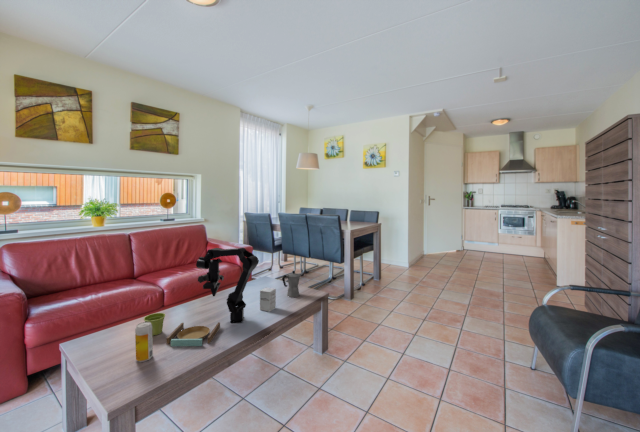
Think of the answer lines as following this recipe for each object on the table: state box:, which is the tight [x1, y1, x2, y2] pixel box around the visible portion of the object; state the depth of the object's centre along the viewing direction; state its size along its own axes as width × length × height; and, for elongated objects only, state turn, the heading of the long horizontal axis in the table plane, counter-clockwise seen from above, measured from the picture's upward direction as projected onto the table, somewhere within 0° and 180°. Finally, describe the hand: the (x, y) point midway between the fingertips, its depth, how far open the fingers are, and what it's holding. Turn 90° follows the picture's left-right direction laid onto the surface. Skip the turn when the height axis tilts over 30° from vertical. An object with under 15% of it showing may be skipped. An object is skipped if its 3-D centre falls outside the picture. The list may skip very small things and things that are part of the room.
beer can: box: [134, 321, 154, 363], centre depth 116 cm, size 6×6×15 cm
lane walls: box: [165, 322, 221, 345], centre depth 137 cm, size 20×16×3 cm
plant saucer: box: [176, 325, 211, 340], centre depth 135 cm, size 15×15×3 cm
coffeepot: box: [281, 270, 303, 298], centre depth 196 cm, size 15×9×18 cm, turn 122°
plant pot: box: [143, 312, 166, 337], centre depth 138 cm, size 9×9×9 cm
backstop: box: [170, 338, 203, 347], centre depth 127 cm, size 14×1×3 cm, turn 93°
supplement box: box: [259, 287, 277, 312], centre depth 171 cm, size 7×7×13 cm
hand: (214, 296), depth 159 cm, fingers closed
